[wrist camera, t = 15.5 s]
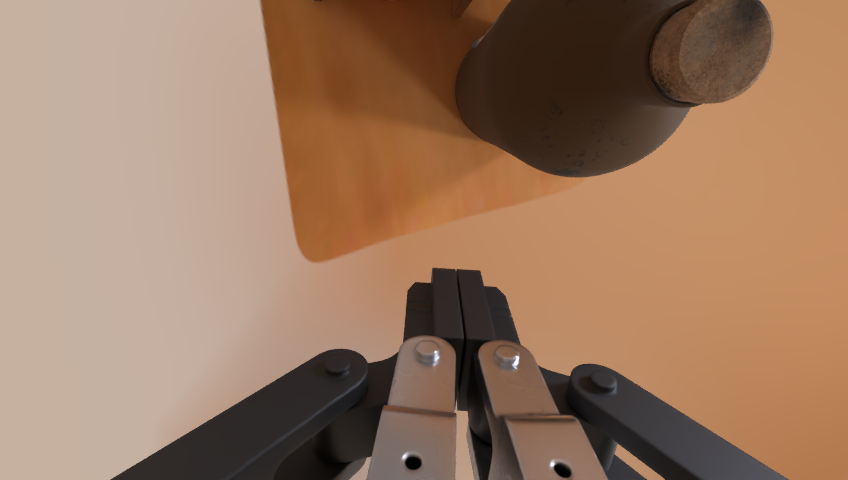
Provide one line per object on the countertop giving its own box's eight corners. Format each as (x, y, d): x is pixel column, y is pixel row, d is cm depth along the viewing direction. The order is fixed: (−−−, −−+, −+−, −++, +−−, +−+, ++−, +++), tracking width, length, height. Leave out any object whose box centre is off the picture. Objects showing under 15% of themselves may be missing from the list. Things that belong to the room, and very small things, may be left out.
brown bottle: (578, 131, 38) (890, 164, 14) (465, 167, 38) (586, 258, 14) (555, 4, 35) (905, -226, 11) (432, 44, 35) (517, -100, 11)
